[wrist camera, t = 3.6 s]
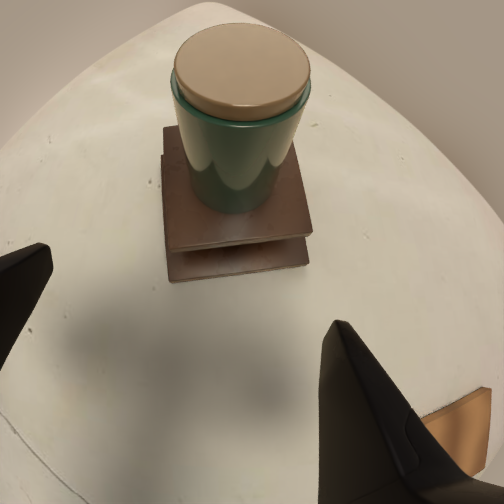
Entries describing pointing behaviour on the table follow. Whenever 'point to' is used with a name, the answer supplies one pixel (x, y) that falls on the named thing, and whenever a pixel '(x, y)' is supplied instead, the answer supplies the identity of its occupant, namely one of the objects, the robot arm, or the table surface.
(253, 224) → the stand
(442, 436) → the trivet
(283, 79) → the jar
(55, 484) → the table surface
